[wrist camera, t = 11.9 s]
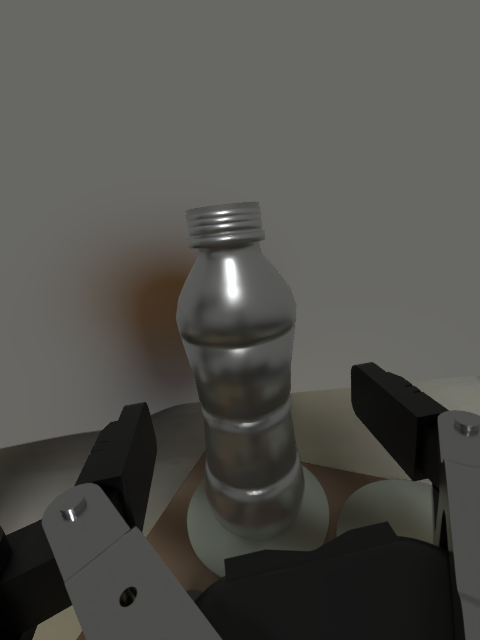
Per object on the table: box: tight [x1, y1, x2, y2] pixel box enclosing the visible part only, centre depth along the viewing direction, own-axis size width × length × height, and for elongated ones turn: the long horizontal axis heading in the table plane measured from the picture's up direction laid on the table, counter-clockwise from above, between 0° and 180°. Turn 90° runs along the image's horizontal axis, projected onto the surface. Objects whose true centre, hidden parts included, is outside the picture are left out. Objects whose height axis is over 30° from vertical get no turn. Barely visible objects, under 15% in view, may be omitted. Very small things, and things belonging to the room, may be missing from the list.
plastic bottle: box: [176, 202, 305, 540], centre depth 18 cm, size 6×7×20 cm
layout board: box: [77, 451, 433, 640], centre depth 17 cm, size 16×23×4 cm
